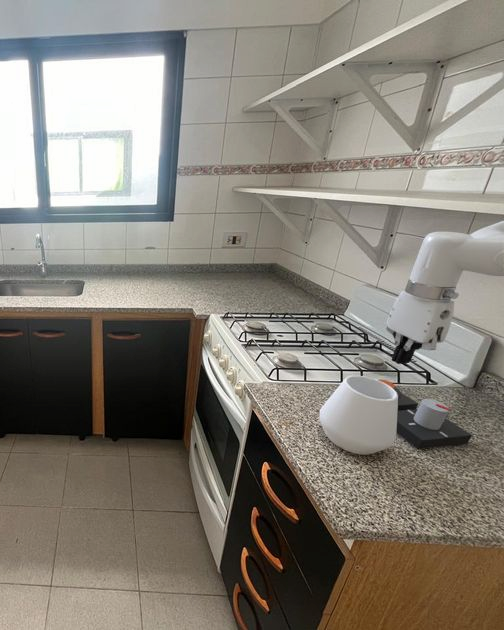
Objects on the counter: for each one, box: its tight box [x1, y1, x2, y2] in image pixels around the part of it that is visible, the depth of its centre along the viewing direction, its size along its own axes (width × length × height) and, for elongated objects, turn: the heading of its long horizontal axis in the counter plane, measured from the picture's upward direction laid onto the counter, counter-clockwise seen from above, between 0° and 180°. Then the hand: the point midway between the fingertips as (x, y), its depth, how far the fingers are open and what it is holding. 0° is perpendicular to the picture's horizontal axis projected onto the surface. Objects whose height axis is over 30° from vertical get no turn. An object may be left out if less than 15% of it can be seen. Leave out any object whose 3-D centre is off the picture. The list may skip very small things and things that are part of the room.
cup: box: [319, 374, 398, 456], centre depth 73 cm, size 13×13×14 cm
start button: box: [377, 379, 396, 389], centre depth 86 cm, size 4×4×2 cm
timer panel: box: [396, 408, 473, 450], centre depth 78 cm, size 12×9×3 cm
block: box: [394, 386, 419, 411], centre depth 87 cm, size 11×9×4 cm
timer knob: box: [413, 398, 451, 430], centre depth 76 cm, size 4×4×5 cm
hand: (400, 361), depth 83 cm, fingers closed
